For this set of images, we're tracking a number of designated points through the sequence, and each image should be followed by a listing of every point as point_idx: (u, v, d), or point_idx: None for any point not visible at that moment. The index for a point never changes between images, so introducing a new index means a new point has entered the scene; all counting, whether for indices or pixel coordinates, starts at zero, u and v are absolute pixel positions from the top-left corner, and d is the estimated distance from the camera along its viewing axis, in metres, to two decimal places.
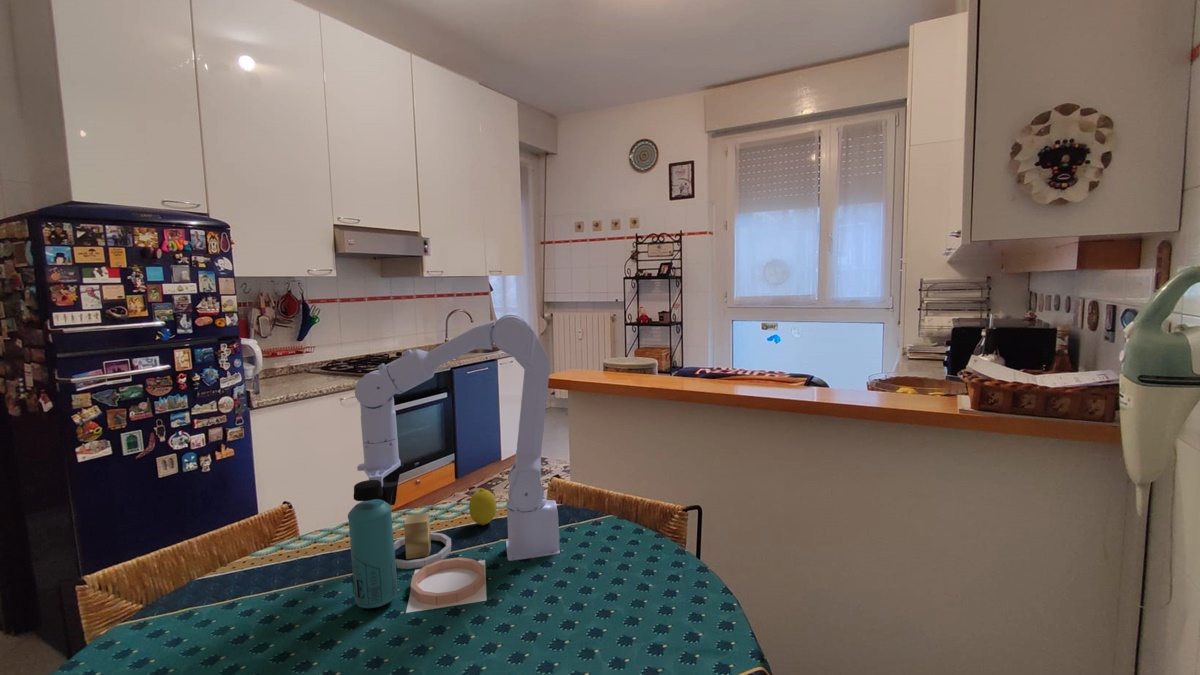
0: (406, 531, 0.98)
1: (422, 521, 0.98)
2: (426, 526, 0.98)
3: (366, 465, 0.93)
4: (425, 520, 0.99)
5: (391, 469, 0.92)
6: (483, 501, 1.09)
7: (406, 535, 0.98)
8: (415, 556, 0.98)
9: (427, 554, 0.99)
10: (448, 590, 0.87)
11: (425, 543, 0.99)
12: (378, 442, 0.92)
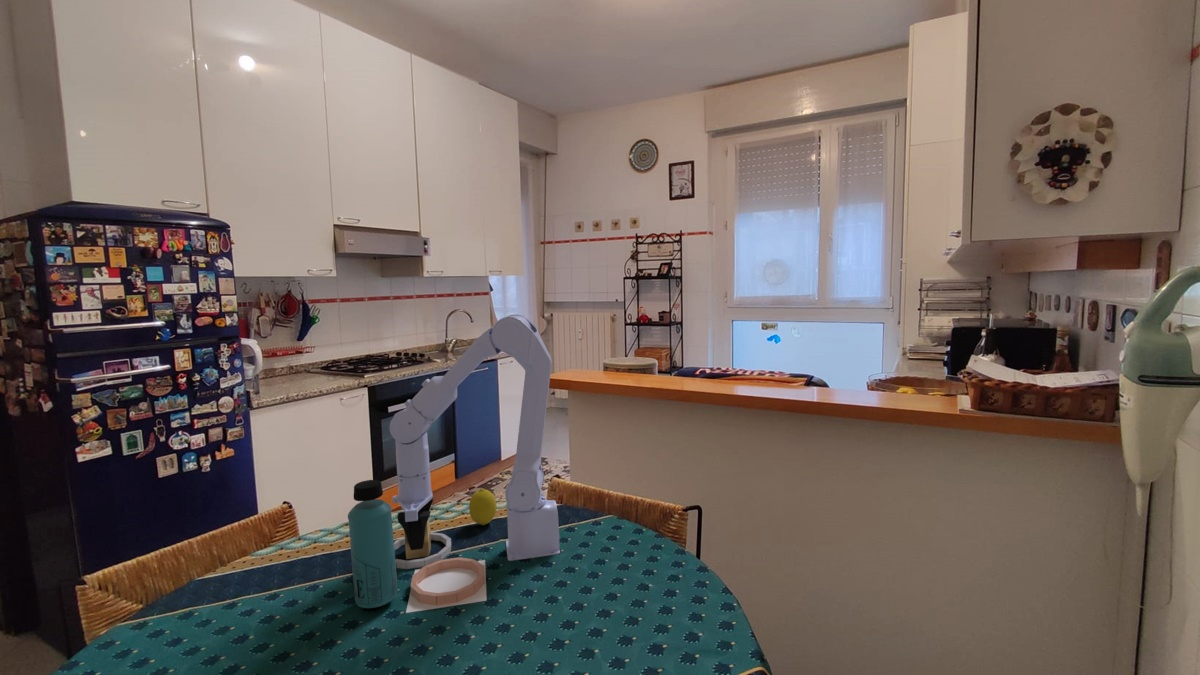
0: None
1: None
2: (426, 526, 0.98)
3: (401, 498, 0.97)
4: None
5: (425, 502, 0.97)
6: (483, 501, 1.09)
7: None
8: (415, 556, 0.98)
9: (427, 554, 0.99)
10: (448, 590, 0.87)
11: (425, 543, 0.99)
12: (410, 476, 0.96)
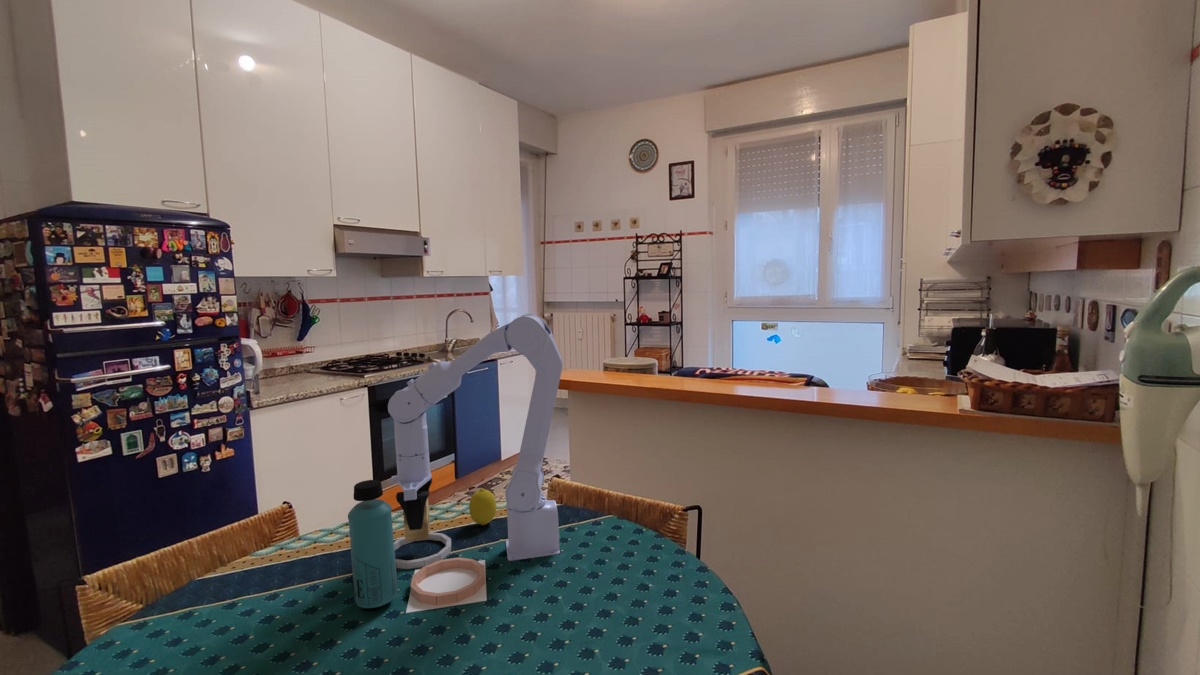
0: None
1: None
2: (425, 506, 0.98)
3: (399, 477, 0.97)
4: None
5: (423, 482, 0.96)
6: (483, 501, 1.09)
7: None
8: (414, 536, 0.98)
9: (426, 534, 0.98)
10: (448, 590, 0.87)
11: (424, 523, 0.98)
12: (409, 456, 0.96)
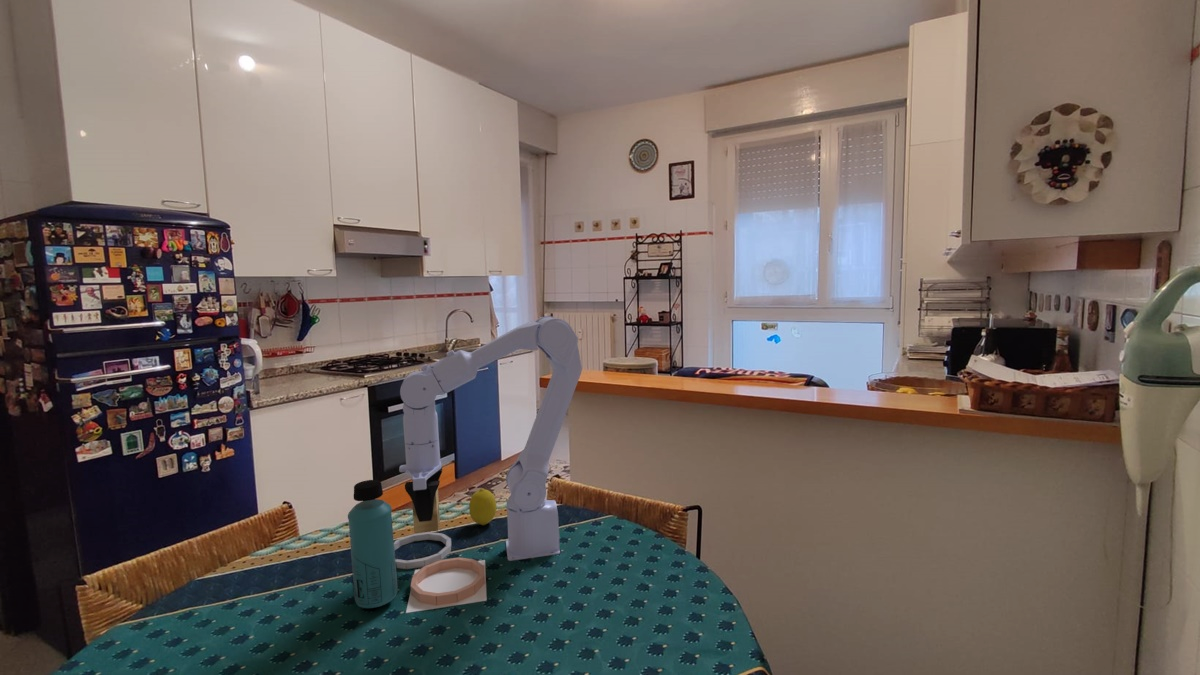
0: None
1: None
2: (435, 497, 0.94)
3: (408, 467, 0.92)
4: None
5: (433, 471, 0.92)
6: (483, 501, 1.09)
7: None
8: (424, 528, 0.94)
9: (436, 526, 0.94)
10: (448, 590, 0.87)
11: (433, 514, 0.94)
12: (423, 443, 0.91)
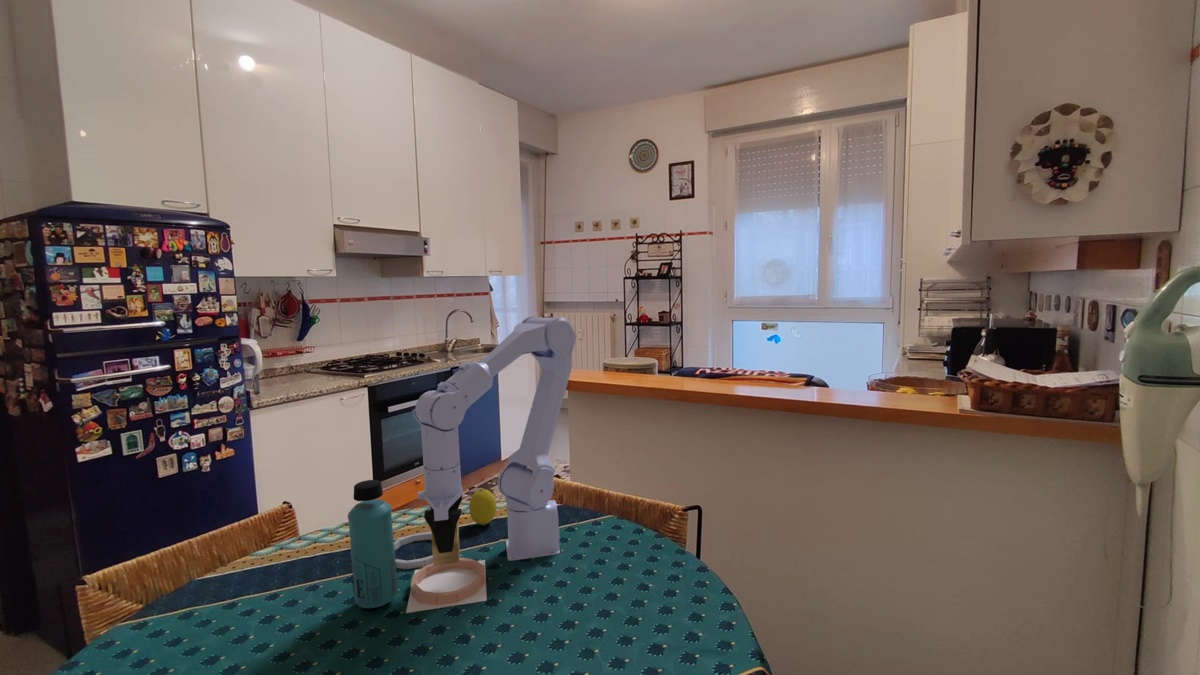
0: None
1: None
2: (456, 526, 0.87)
3: (427, 494, 0.85)
4: None
5: (455, 498, 0.85)
6: (483, 501, 1.09)
7: (433, 536, 0.86)
8: (443, 560, 0.87)
9: (456, 558, 0.87)
10: (448, 590, 0.87)
11: (454, 545, 0.87)
12: (452, 467, 0.86)
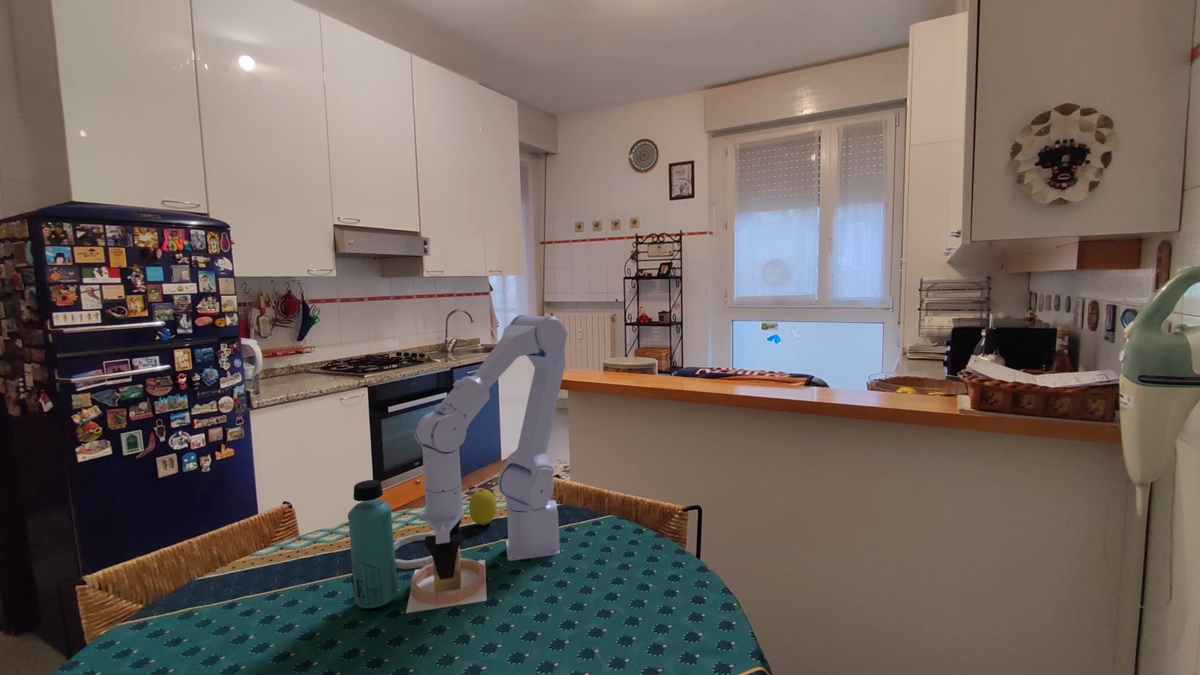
0: None
1: None
2: (457, 553, 0.87)
3: (429, 515, 0.86)
4: None
5: (456, 520, 0.85)
6: (483, 501, 1.09)
7: None
8: (445, 587, 0.87)
9: (458, 584, 0.88)
10: None
11: (455, 572, 0.87)
12: (454, 488, 0.86)
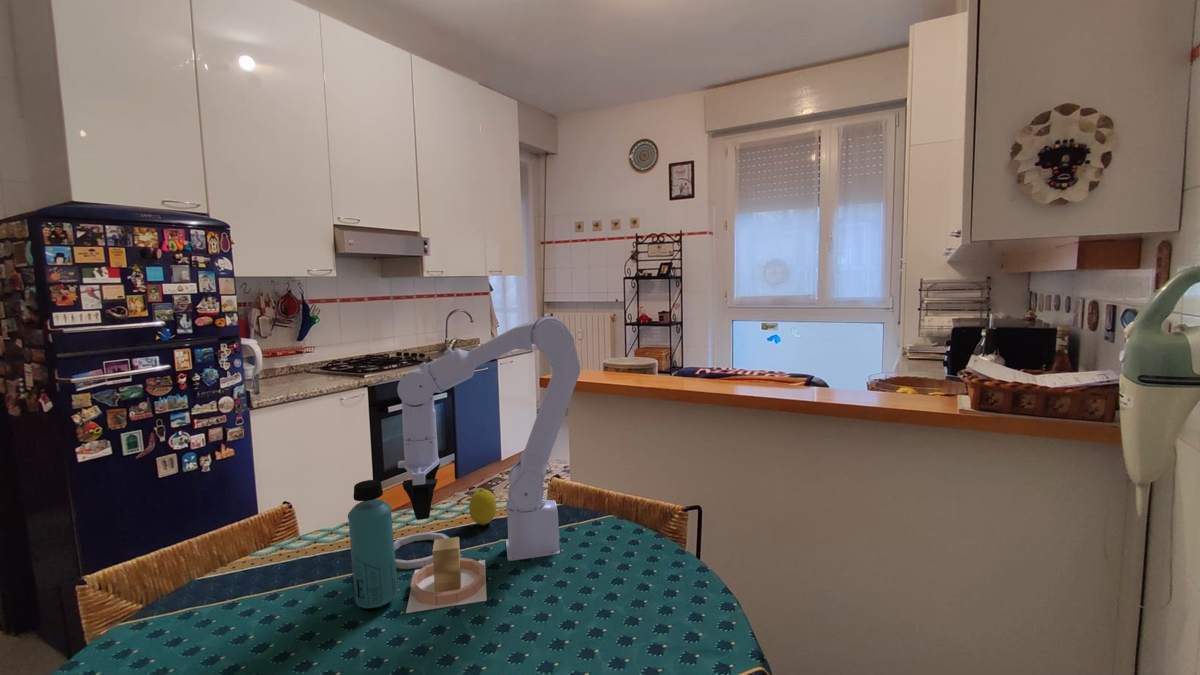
0: (435, 559, 0.86)
1: (453, 547, 0.87)
2: (457, 553, 0.87)
3: (407, 462, 0.94)
4: (456, 546, 0.87)
5: (432, 466, 0.94)
6: (483, 501, 1.09)
7: (435, 563, 0.86)
8: (445, 587, 0.87)
9: (458, 584, 0.88)
10: None
11: (455, 572, 0.87)
12: (419, 440, 0.93)
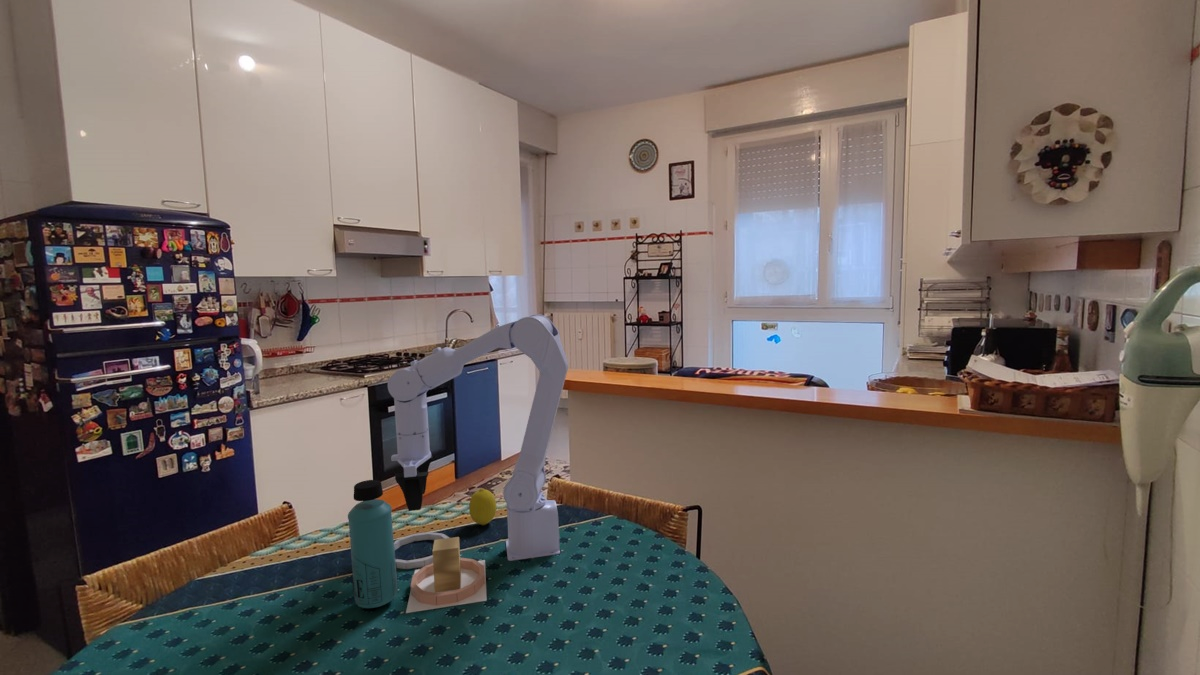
0: (435, 559, 0.86)
1: (453, 547, 0.87)
2: (457, 553, 0.87)
3: (400, 456, 0.98)
4: (456, 546, 0.87)
5: (423, 460, 0.98)
6: (483, 501, 1.09)
7: (435, 563, 0.86)
8: (445, 587, 0.87)
9: (458, 584, 0.88)
10: None
11: (455, 572, 0.87)
12: (408, 434, 0.97)
